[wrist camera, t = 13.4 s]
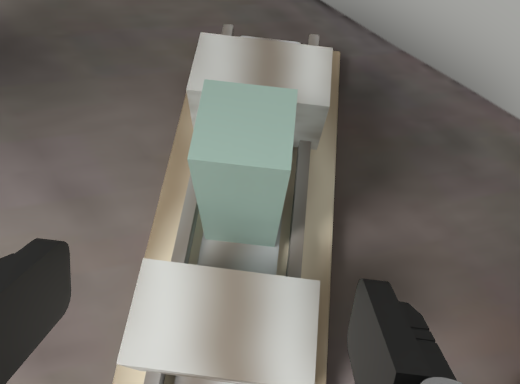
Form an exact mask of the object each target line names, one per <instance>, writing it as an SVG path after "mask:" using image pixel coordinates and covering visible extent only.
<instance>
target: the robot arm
mask: <svg viewBox="0 0 520 384" xmlns="http://www.w3.org/2000/svg"><path fill="white" fill-rule="evenodd" d="M70 297H71V278H70V253H69V246H68V244H67V243H66V242H64V241H56V240H48V239H40V238H37V239H34V240H33V241H31V242H30V243H29V244H27V245H26V246H25V247H23V248H22V249H21V250H19V251H18V252H16V253H15V254H14V253H13V254H10V255H8V256H5V257H3V258H0V384H6V383H7V381H8V380H9V379H10V378H11V377H12V375H13V374H14V373H15V372H16V371H17V370H18V368H19V367H20V366H21V365H22V364H23V362H24V361H25V360H26V359H27V358H28V357H29V355H30V354H31V353H32V352H33V351H34V349H35V348H36V347H37V346H38V345H39V343H40V342H41V341H42V340H43V339H44V338H45V336H46V335H47V334H48V333H49V332H50V330H51V329H52V328H53V327H54V326H55V325H56V323H57V322H58V321H59V320H60V319H61V317H62V316H63V315H64V314H65V312H66V310H67V308H68V305H69V302H70ZM347 345H348V353H349V357H350V362H351V366H352V371H353V375H354V380H355V384H463V383H461V382H458V381H457V380H456V378H455V376H454V374H453V373H452V371H451V369H450V367H449V365H448V363H447V361H446V360H445V358H444V356H443V354H442V352H441V350H440V348H439V346H438V345H437V343H435V339H434V337H433V335H432V333H431V332H429V328H428V326H427V324H426V322H425V320H424V319H423V317H422V315H421V314H420V313H419V312H418V311H416V310H415V309H414V308H413V307H412V306H411V305H410V304H409V303H406V302H398V300H397V298H396V295H395V293H394V291H393V289H392V287H391V285H390V283H389V282H386V281H377V280H369V279H360V280H359V282H358V285H357V289H356V294H355V298H354V303H353V308H352V313H351V318H350V322H349V328H348V337H347Z"/></svg>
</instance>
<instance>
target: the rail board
mask: <svg viewBox="0 0 520 384" xmlns="http://www.w3.org/2000/svg"><path fill="white" fill-rule="evenodd" d="M318 45H319V35H315V34H309V39H308V45H304V44H300V42H293V41H285V40H276V39H268V38H259V37H251V36H242V35H241V37H236V36H234V29H233V25H230V24H224V25H223V29H222V34H221V35H219V34H211V33H202V32H201V33H200V37H199V41H198V45H197V49H196V53H195V57H194V61H193V65H192V69H191V73H190V76H189V80H188V84H187V88H186V95H185V99H184V103H183V107H182V111H181V115H180V119H179V123H178V127H177V131H176V135H175V139H174V142H173V146H172V150H171V154H170V158H169V162H168V166H167V170H166V174H165V178H164V182H163V186H162V190H161V194H160V198H159V202H158V206H157V210H156V213H155V217H154V221H153V225H152V229H151V233H150V237H149V241H148V245H147V249H146V253H145V257H144V258H143V261H142V265H141V269H140V273H139V277H138V281H137V285H136V288H135V292H134V296H133V300H132V304H131V308H130V312H129V316H128V320H127V324H126V328H125V332H124V336H123V340H122V343H121V347H120V351H119V355H118V359H117V363H116V364H117V367H116V371H115V375H114V379H113V383H112V384H326V373H327V350H328V326H329V303H330V280H331V256H332V233H333V210H334V186H335V163H336V139H337V116H338V93H339V69H340V52H339V51H333V48H330V47H321V46H318ZM204 79H207V80H216V81H225V82H234V83H243V84H252V85H261V86H271V87H280V88H289V89H298V93H297V105H296V117H295V129H294V141H293V152H292V164H291V173H290V178H289V182H288V187H287V191H286V196H285V201H284V205H283V210H282V215H281V219H280V224H279V229H278V233H277V238H276V243H275V247H269V246H260V245H251V244H243V243H234V242H225V241H216V240H208V239H205V236H204V231H203V227H202V222H201V218H200V213H199V209H198V205H197V200H196V196H195V191H194V187H193V182H192V178H191V173H190V169H189V165H188V160H187V158H188V153H189V149H190V144H191V140H192V135H193V130H194V126H195V121H196V116H197V112H198V107H199V103H200V98H201V93H202V89H203V84H204Z"/></svg>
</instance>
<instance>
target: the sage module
mask: <svg viewBox="0 0 520 384" xmlns="http://www.w3.org/2000/svg"><path fill="white" fill-rule="evenodd" d="M297 93H298V89H289V88H280V87H271V86H261V85H252V84H243V83H234V82H225V81H216V80H207V79H204V84H203V89H202V93H201V98H200V103H199V107H198V112H197V116H196V121H195V126H194V130H193V135H192V140H191V144H190V149H189V153H188V158H187V160H188V165H189V169H190V173H191V178H192V182H193V187H194V191H195V196H196V200H197V205H198V209H199V213H200V218H201V222H202V227H203V231H204V236H205V239H208V240H216V241H225V242H234V243H243V244H251V245H260V246H269V247H275V243H276V238H277V233H278V229H279V224H280V219H281V215H282V210H283V205H284V201H285V196H286V191H287V187H288V182H289V178H290V173H291V164H292V152H293V141H294V129H295V117H296V105H297Z"/></svg>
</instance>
